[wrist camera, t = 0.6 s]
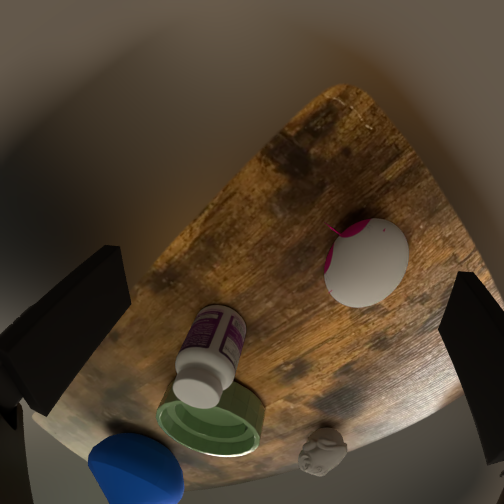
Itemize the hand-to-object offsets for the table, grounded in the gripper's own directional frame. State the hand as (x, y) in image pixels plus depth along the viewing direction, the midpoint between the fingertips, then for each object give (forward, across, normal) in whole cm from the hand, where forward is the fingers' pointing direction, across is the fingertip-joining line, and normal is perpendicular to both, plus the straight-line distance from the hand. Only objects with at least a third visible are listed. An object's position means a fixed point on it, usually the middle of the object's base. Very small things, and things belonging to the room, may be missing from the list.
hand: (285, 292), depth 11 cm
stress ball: (+15, +5, -4) cm, 17 cm away
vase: (+16, -24, -49) cm, 56 cm away
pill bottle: (+15, -7, -14) cm, 22 cm away
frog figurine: (+15, +7, -33) cm, 37 cm away
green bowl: (+15, -8, -28) cm, 33 cm away
